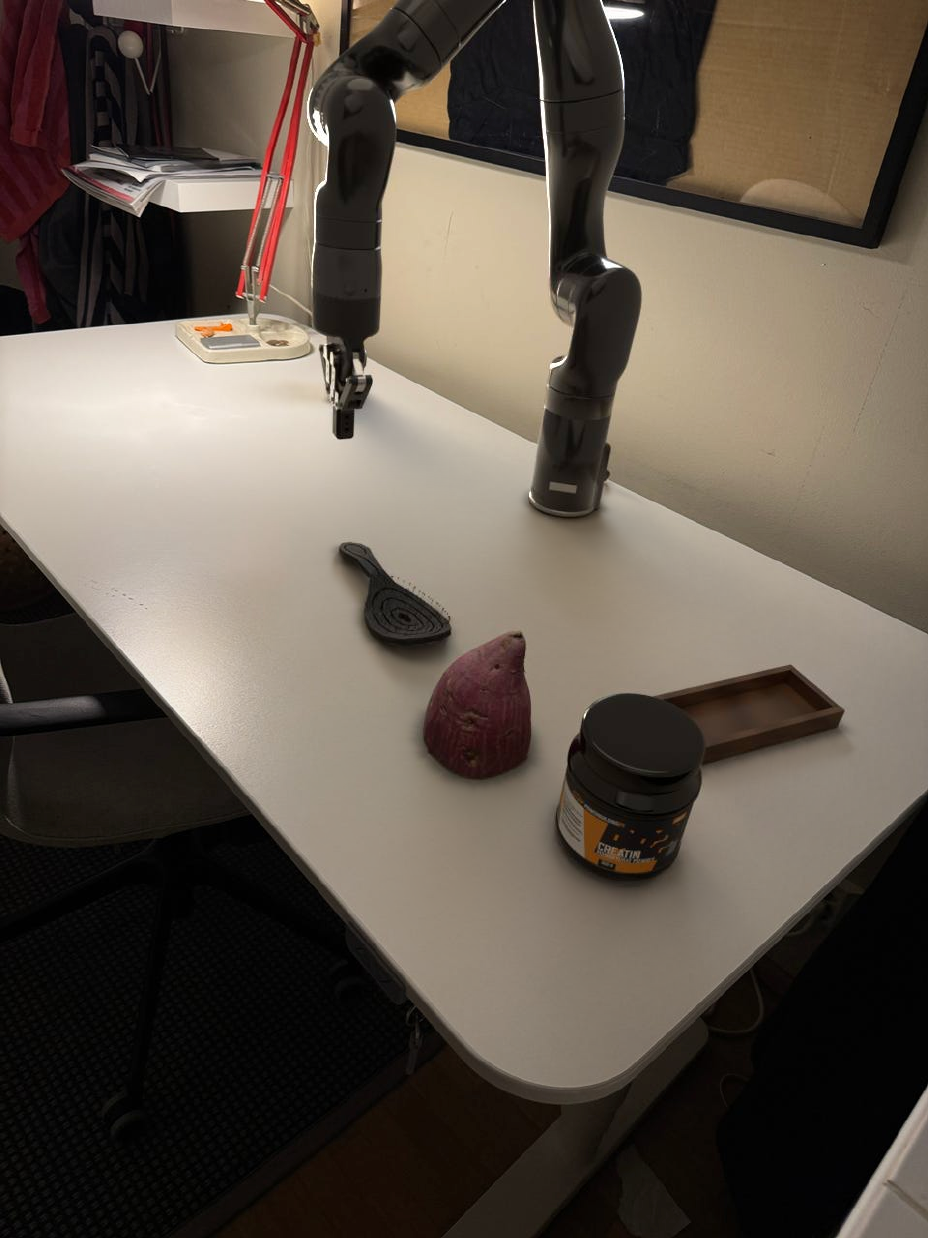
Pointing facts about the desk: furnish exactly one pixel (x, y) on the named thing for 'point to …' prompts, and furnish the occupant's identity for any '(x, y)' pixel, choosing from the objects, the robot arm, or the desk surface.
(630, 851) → the supplement container
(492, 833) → the desk surface
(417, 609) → the hairbrush
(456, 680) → the vegetable
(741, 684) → the pen tray
